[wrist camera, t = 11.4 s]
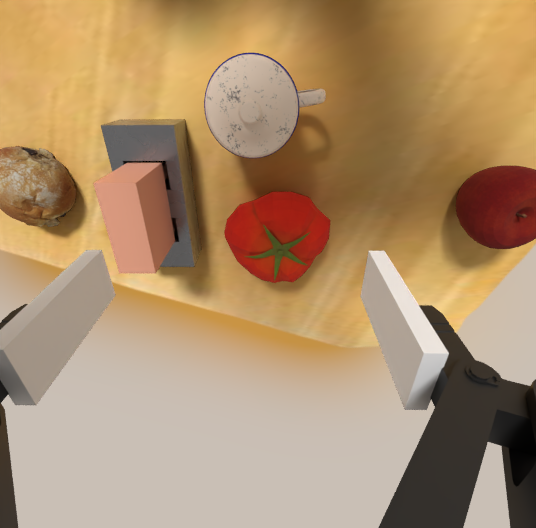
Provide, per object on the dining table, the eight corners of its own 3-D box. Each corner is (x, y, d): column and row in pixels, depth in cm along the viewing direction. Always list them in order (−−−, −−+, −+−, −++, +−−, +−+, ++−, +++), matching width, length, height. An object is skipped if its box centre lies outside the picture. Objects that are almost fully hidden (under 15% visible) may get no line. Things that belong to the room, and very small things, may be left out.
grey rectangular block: (119, 119, 39) (100, 125, 35) (184, 119, 39) (173, 124, 34) (148, 249, 48) (136, 266, 44) (201, 249, 48) (194, 266, 44)
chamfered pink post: (136, 157, 39) (93, 182, 30) (169, 156, 39) (135, 182, 30) (152, 230, 44) (119, 273, 35) (181, 230, 44) (155, 273, 35)
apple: (532, 176, 42) (600, 203, 33) (477, 235, 46) (524, 272, 37) (478, 142, 40) (535, 160, 31) (426, 207, 44) (463, 239, 35)
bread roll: (91, 163, 45) (59, 149, 37) (79, 234, 46) (46, 234, 38) (18, 146, 44) (-31, 128, 36) (7, 219, 45) (-43, 216, 37)
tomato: (238, 268, 50) (232, 302, 42) (222, 189, 43) (211, 214, 36) (327, 258, 48) (337, 292, 41) (324, 177, 42) (335, 199, 35)
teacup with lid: (226, 148, 40) (211, 172, 30) (209, 64, 36) (184, 60, 26) (321, 133, 39) (337, 153, 29) (316, 45, 35) (333, 34, 25)
